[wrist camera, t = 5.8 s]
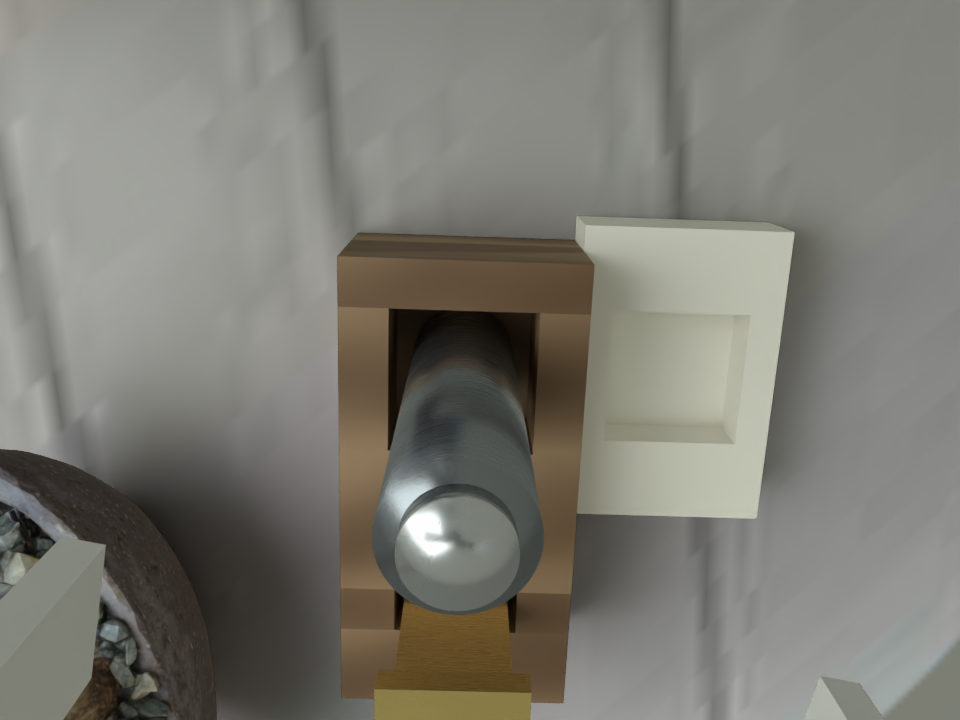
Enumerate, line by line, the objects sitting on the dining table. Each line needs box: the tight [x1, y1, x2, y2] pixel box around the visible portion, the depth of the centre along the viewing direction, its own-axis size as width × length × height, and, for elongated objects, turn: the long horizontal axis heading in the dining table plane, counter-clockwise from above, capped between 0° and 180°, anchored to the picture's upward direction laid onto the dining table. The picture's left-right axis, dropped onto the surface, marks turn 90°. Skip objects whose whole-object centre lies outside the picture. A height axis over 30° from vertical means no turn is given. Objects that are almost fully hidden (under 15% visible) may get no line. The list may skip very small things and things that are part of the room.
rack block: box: [575, 216, 795, 519], centre depth 37 cm, size 12×8×3 cm, turn 178°
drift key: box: [374, 598, 532, 720], centre depth 33 cm, size 2×5×10 cm, turn 88°
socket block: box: [337, 233, 595, 703], centre depth 36 cm, size 18×9×6 cm, turn 178°
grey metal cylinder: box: [372, 310, 544, 615], centre depth 28 cm, size 4×4×17 cm
